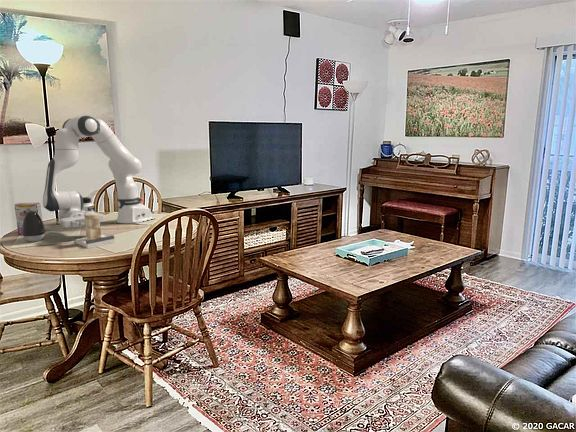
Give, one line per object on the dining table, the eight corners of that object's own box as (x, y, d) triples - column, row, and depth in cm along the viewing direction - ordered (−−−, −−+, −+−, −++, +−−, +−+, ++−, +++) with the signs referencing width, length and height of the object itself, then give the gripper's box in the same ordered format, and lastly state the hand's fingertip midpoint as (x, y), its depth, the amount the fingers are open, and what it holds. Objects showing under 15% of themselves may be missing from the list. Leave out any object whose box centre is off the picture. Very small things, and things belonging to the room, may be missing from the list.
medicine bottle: (88, 217, 271) (86, 198, 269) (78, 216, 273) (76, 198, 270) (95, 215, 278) (94, 196, 276) (86, 214, 280) (84, 196, 277)
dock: (102, 238, 220) (101, 231, 220) (114, 242, 212) (113, 235, 211) (76, 243, 211) (75, 236, 210) (87, 248, 202) (87, 241, 202)
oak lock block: (96, 236, 215) (94, 213, 213) (101, 238, 212) (99, 214, 209) (86, 238, 212) (84, 214, 209) (91, 240, 208) (88, 216, 206)
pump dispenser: (37, 237, 223) (33, 208, 220) (51, 239, 219) (47, 209, 216) (18, 241, 214) (14, 211, 211) (31, 244, 210) (27, 213, 207)
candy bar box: (17, 234, 228) (13, 204, 225) (22, 232, 233) (17, 202, 230) (40, 234, 230) (36, 203, 227) (44, 231, 235) (40, 202, 231)
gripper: (55, 216, 214) (66, 219, 205) (96, 209, 229) (108, 213, 220) (56, 228, 215) (68, 232, 206) (97, 221, 230) (109, 225, 221)
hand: (89, 222), depth 213 cm, fingers open, 8 cm apart
